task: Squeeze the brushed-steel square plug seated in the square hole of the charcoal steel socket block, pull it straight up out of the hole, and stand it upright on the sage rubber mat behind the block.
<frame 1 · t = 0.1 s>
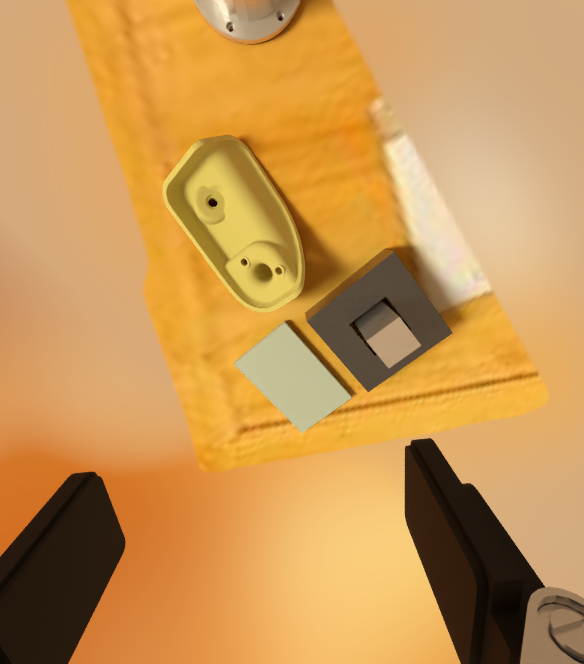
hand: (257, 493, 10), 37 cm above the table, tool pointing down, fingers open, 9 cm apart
socket block: (372, 318, 47), on the table
steel plug: (372, 318, 47), resting in socket block
plastic component: (243, 231, 43), on the table
sage mat: (293, 378, 50), on the table
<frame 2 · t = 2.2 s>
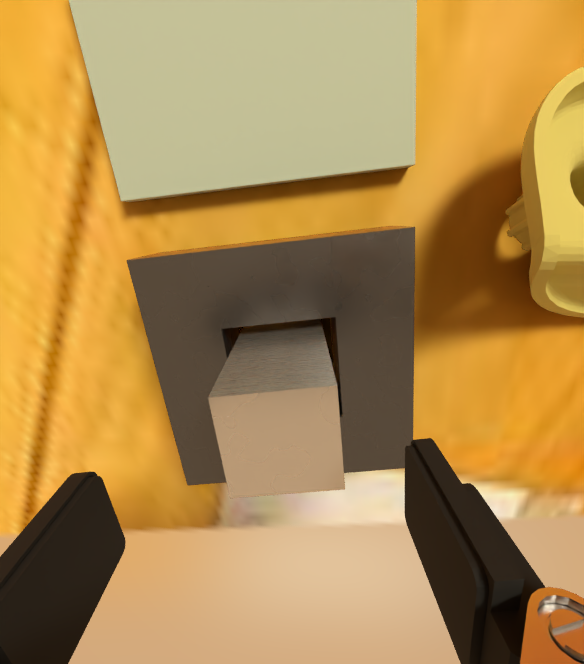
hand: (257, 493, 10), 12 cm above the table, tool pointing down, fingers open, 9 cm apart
socket block: (286, 347, 22), on the table
steel plug: (286, 347, 22), resting in socket block
sage mat: (253, 80, 17), on the table
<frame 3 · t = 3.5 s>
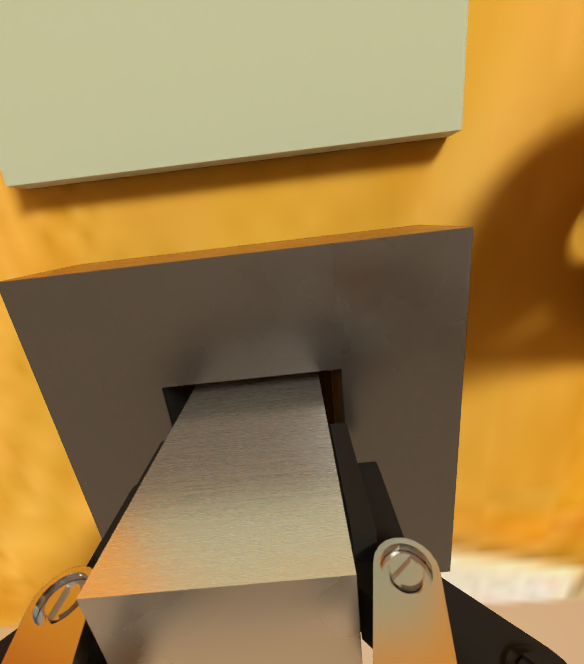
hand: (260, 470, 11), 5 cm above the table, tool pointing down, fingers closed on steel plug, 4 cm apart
socket block: (269, 395, 15), on the table
steel plug: (269, 395, 15), resting in socket block, touching gripper
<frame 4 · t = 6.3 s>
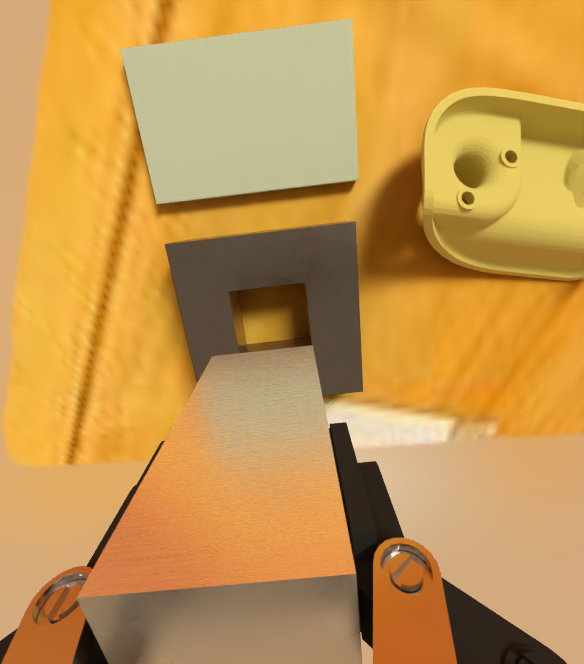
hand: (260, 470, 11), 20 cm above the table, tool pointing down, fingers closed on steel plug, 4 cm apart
socket block: (273, 310, 30), on the table
steel plug: (269, 395, 15), point 15 cm above the table, touching gripper
plastic component: (506, 192, 27), on the table
sage mat: (248, 122, 25), on the table
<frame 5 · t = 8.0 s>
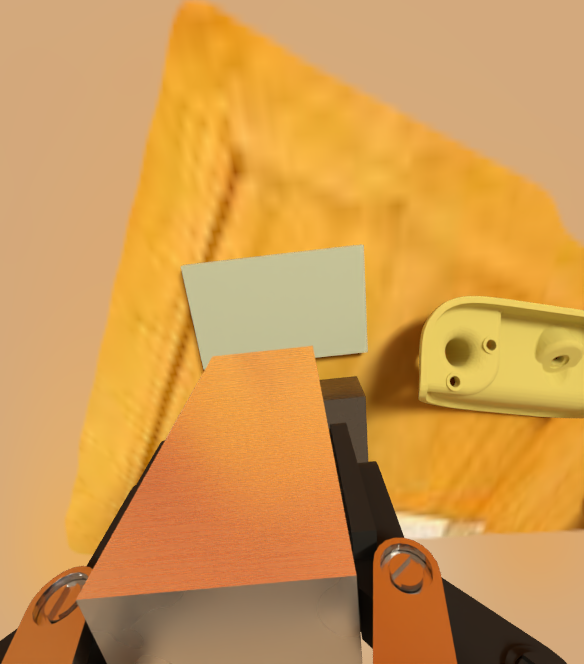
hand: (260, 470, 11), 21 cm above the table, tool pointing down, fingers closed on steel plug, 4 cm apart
socket block: (295, 439, 35), on the table
steel plug: (269, 395, 15), point 16 cm above the table, touching gripper
plastic component: (490, 348, 33), on the table
sage mat: (278, 308, 31), on the table
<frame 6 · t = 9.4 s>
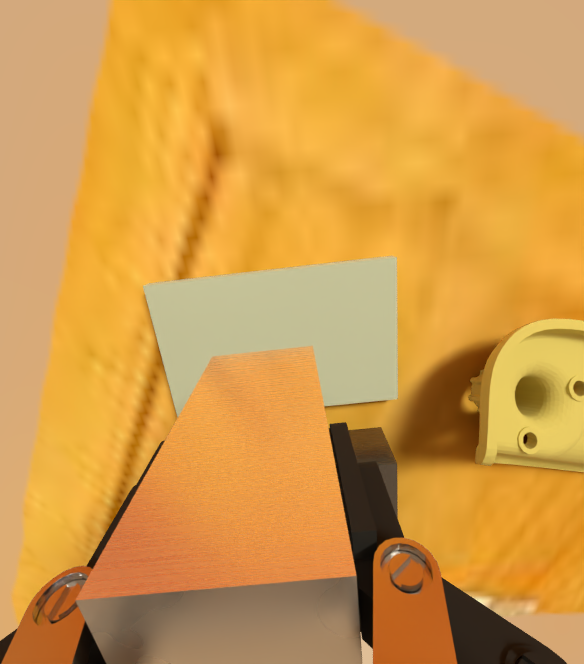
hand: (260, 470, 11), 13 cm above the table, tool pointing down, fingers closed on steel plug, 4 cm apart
socket block: (300, 504, 28), on the table
steel plug: (269, 395, 15), point 8 cm above the table, touching gripper
plastic component: (560, 386, 25), on the table
sage mat: (278, 340, 23), on the table
when the fingers open (7 cm above the table, at t = 10.8 s): steel plug drops 1 cm, resting on sage mat.
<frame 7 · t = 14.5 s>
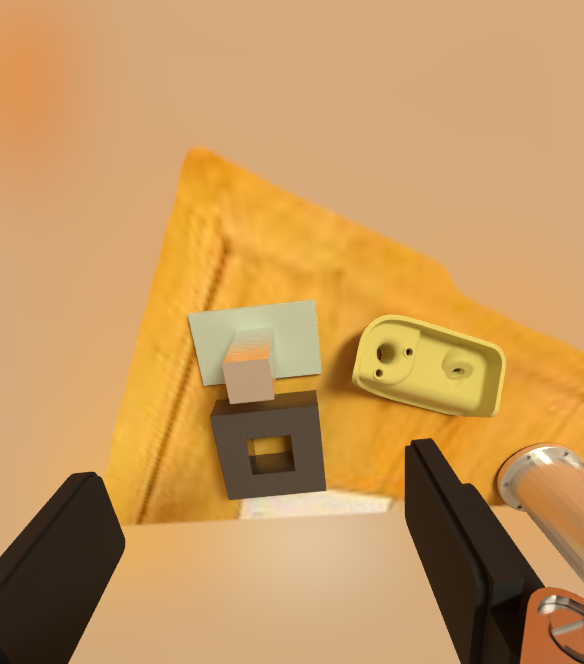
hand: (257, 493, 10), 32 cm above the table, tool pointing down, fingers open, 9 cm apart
socket block: (272, 436, 48), on the table
steel plug: (257, 345, 42), point 1 cm above the table, touching sage mat
plastic component: (414, 357, 44), on the table
sage mat: (257, 342, 43), on the table
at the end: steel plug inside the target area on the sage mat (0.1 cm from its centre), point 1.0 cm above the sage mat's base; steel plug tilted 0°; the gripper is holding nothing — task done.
